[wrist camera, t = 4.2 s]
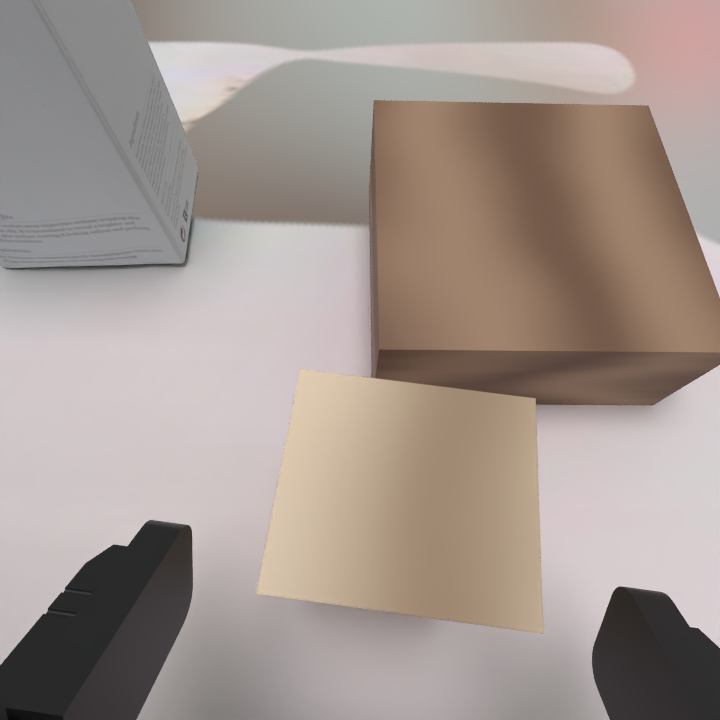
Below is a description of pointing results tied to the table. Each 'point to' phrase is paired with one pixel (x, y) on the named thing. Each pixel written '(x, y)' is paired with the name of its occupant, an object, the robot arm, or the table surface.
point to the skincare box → (88, 140)
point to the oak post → (408, 502)
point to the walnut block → (534, 254)
